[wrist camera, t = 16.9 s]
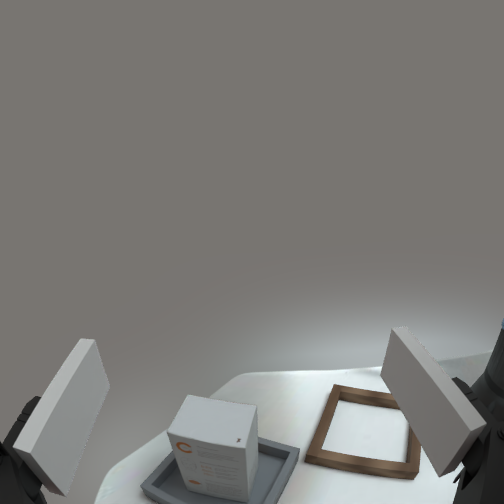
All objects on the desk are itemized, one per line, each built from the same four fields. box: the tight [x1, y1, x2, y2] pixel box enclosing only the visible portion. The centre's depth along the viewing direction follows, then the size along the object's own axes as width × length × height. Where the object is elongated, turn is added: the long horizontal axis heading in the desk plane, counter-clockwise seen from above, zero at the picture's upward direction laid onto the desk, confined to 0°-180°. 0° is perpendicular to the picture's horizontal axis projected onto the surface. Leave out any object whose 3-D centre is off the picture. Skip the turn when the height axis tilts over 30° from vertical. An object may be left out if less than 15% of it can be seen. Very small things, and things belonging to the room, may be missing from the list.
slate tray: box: [140, 437, 300, 504], centre depth 32 cm, size 15×15×3 cm
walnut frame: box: [305, 384, 421, 479], centre depth 39 cm, size 16×16×2 cm
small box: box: [167, 395, 258, 503], centre depth 30 cm, size 8×6×13 cm
